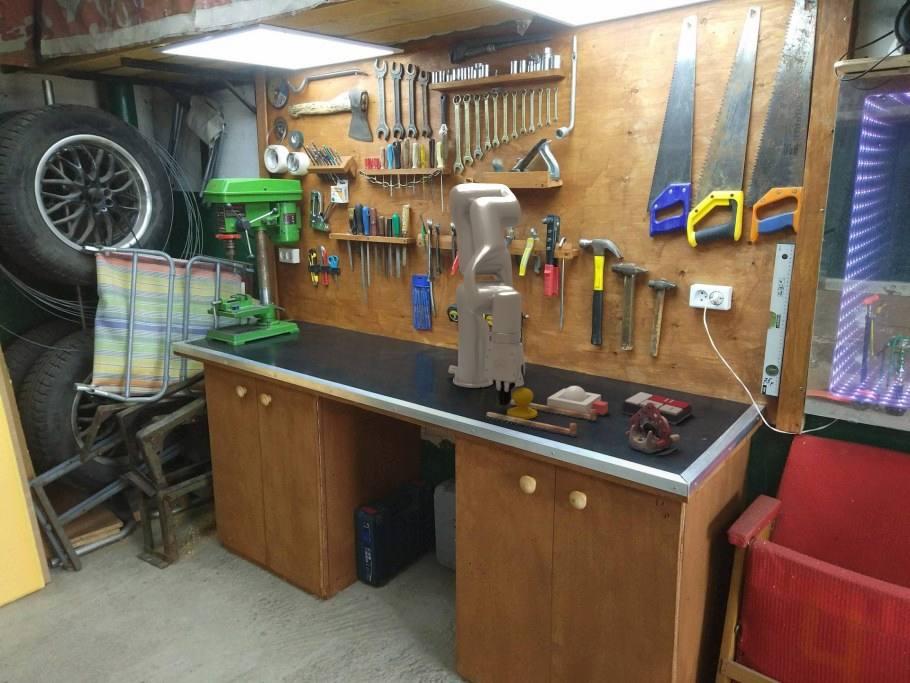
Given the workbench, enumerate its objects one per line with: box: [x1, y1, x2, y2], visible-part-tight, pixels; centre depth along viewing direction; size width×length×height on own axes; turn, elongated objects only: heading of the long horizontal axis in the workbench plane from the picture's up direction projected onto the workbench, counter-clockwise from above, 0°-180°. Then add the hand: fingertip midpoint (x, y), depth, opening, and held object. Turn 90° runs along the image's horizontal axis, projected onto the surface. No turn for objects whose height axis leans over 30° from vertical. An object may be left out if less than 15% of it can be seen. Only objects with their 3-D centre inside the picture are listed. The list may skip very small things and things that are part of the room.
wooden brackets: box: [486, 398, 597, 435], centre depth 175 cm, size 25×15×3 cm, turn 57°
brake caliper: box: [625, 402, 681, 450], centre depth 156 cm, size 11×11×12 cm
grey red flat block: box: [621, 391, 693, 422], centre depth 180 cm, size 11×4×15 cm
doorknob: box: [506, 387, 538, 419], centre depth 177 cm, size 8×8×8 cm
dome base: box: [546, 388, 609, 414], centre depth 182 cm, size 14×11×4 cm
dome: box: [563, 385, 586, 402], centre depth 183 cm, size 6×6×6 cm
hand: (504, 404), depth 180 cm, fingers closed
